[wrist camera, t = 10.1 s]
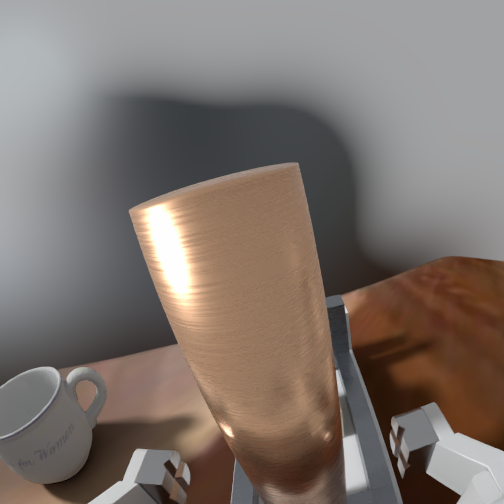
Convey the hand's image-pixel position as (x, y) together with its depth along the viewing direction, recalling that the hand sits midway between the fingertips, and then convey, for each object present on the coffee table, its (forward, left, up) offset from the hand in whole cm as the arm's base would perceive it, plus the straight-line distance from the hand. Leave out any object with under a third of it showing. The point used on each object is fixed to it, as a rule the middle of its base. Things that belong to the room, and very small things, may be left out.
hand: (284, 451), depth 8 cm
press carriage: (-4, -6, -9) cm, 12 cm away
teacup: (+15, -17, -11) cm, 25 cm away
